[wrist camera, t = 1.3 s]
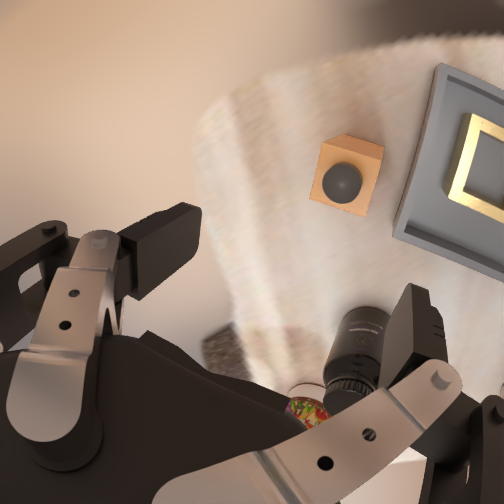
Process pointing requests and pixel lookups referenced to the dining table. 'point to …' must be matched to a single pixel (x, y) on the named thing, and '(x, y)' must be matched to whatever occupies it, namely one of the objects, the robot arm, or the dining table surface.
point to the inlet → (462, 162)
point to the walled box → (435, 169)
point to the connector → (347, 173)
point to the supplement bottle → (354, 359)
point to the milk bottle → (308, 404)
